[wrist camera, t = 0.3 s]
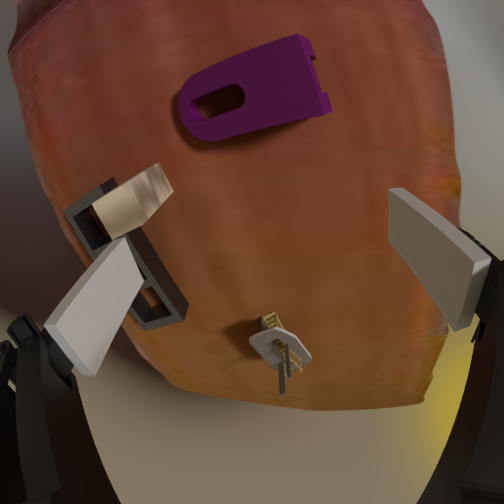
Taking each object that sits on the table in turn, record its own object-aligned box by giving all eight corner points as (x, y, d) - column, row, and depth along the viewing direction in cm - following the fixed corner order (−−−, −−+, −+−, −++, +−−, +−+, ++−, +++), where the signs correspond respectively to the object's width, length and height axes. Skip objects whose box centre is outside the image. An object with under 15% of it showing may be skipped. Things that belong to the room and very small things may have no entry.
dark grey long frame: (77, 201, 40) (63, 211, 36) (113, 177, 38) (99, 185, 34) (151, 315, 51) (144, 330, 47) (189, 304, 50) (183, 320, 46)
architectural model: (291, 250, 44) (302, 308, 32) (353, 335, 54) (369, 389, 41) (194, 308, 51) (178, 367, 38) (270, 373, 60) (271, 426, 48)
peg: (132, 176, 38) (91, 203, 28) (158, 162, 37) (122, 184, 27) (146, 204, 40) (112, 239, 30) (173, 191, 39) (143, 224, 29)
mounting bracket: (224, 134, 41) (337, 108, 31) (192, 149, 35) (324, 115, 25) (205, 81, 36) (316, 43, 27) (169, 86, 30) (297, 33, 21)
